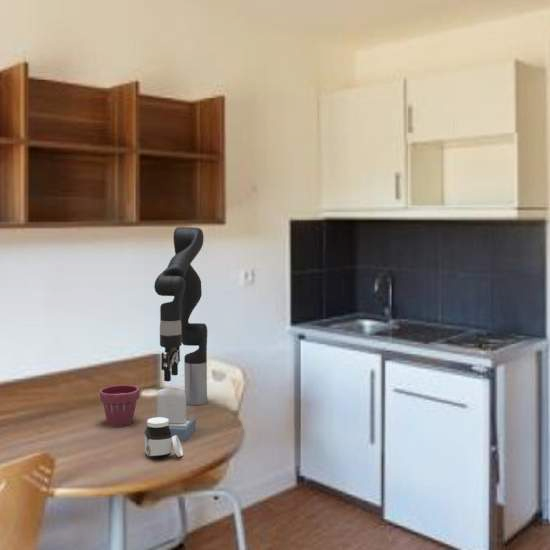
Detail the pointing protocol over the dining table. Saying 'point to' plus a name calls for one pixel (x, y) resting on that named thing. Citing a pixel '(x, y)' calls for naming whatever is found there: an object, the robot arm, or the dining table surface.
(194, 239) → the robot arm
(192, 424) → the base block
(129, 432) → the dining table surface
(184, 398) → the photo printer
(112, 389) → the plant pot
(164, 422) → the spread jar
